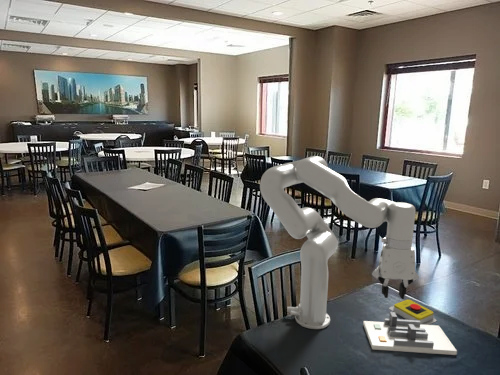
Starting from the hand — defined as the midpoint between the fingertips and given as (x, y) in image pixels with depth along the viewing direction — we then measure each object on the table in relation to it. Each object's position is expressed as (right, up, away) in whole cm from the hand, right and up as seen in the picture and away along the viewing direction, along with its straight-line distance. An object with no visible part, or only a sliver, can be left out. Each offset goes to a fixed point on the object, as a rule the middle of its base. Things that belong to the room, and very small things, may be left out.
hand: (393, 295), depth 118 cm
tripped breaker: (+7, -15, +3) cm, 17 cm away
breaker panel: (+7, -16, +6) cm, 19 cm away
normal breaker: (+3, -14, +10) cm, 17 cm away
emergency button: (+16, -14, +22) cm, 30 cm away
